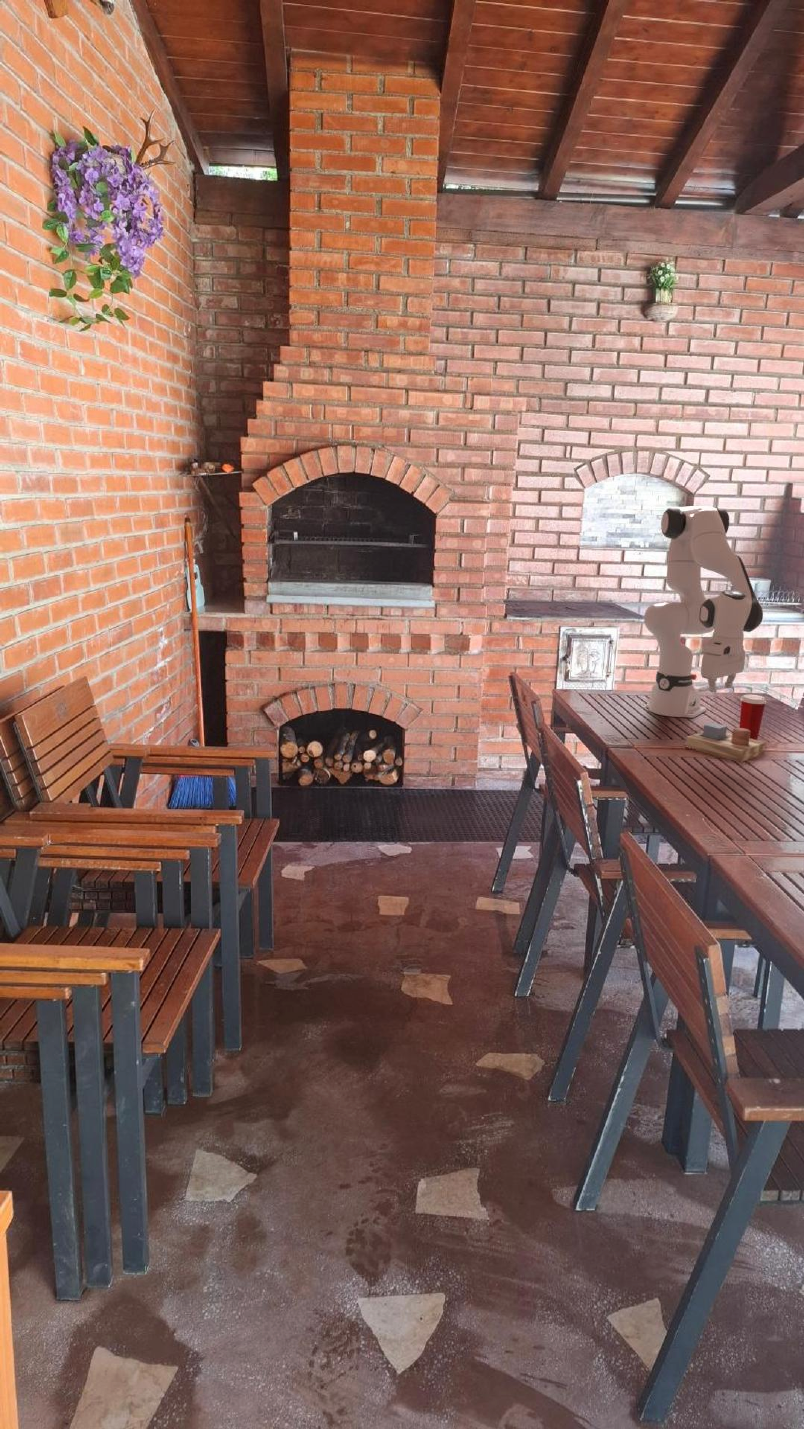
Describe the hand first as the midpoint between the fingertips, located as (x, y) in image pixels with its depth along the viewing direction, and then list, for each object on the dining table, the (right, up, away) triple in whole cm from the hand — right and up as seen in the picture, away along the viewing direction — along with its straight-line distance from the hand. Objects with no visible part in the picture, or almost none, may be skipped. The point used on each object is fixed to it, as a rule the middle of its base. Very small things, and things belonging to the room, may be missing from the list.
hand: (720, 689), depth 278 cm
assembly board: (+2, -19, +2) cm, 19 cm away
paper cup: (+14, -16, +15) cm, 26 cm away
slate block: (-1, -17, +4) cm, 17 cm away
